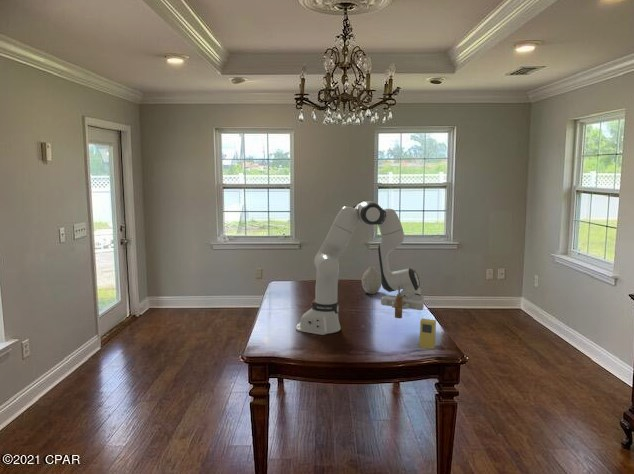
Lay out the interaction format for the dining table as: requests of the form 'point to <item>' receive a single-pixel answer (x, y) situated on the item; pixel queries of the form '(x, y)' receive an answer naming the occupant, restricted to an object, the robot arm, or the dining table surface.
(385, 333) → the dining table surface
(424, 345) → the block
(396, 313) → the awl
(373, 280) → the vase
